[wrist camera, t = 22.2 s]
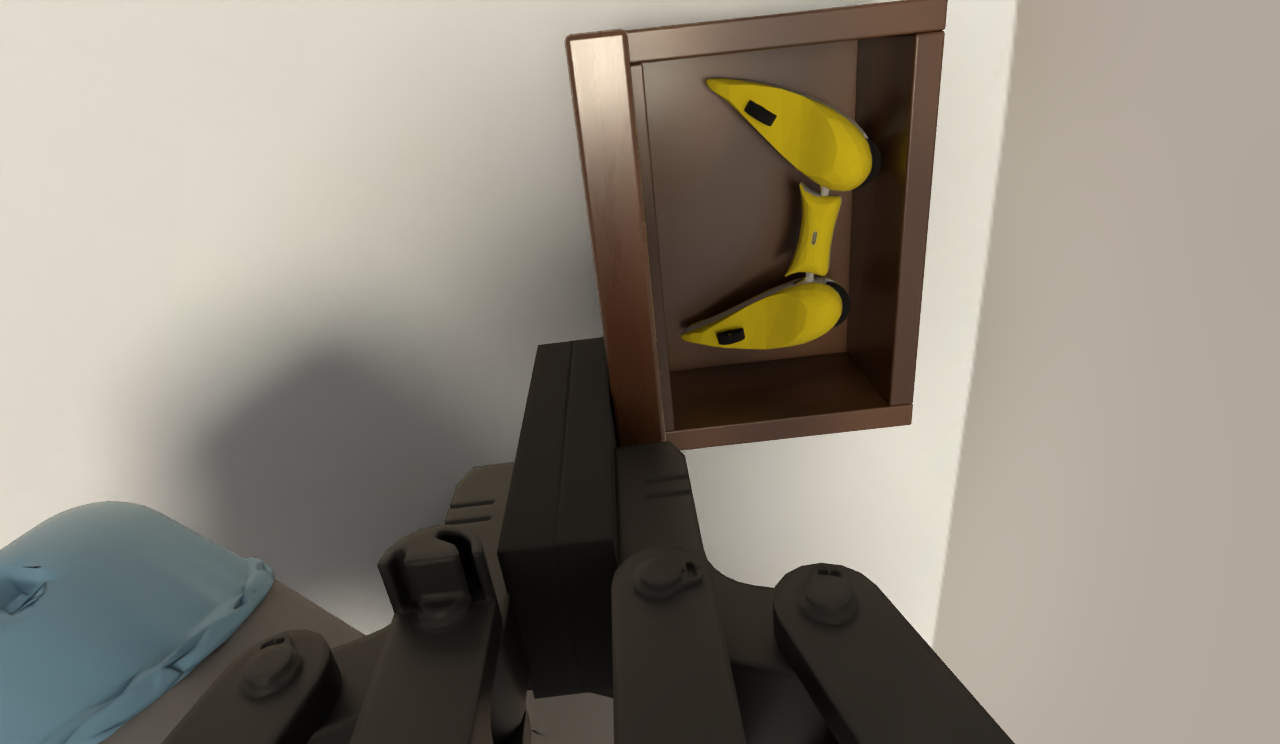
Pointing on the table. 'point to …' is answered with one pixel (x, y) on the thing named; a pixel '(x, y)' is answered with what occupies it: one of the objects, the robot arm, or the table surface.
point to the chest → (786, 215)
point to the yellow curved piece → (835, 162)
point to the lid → (617, 229)
